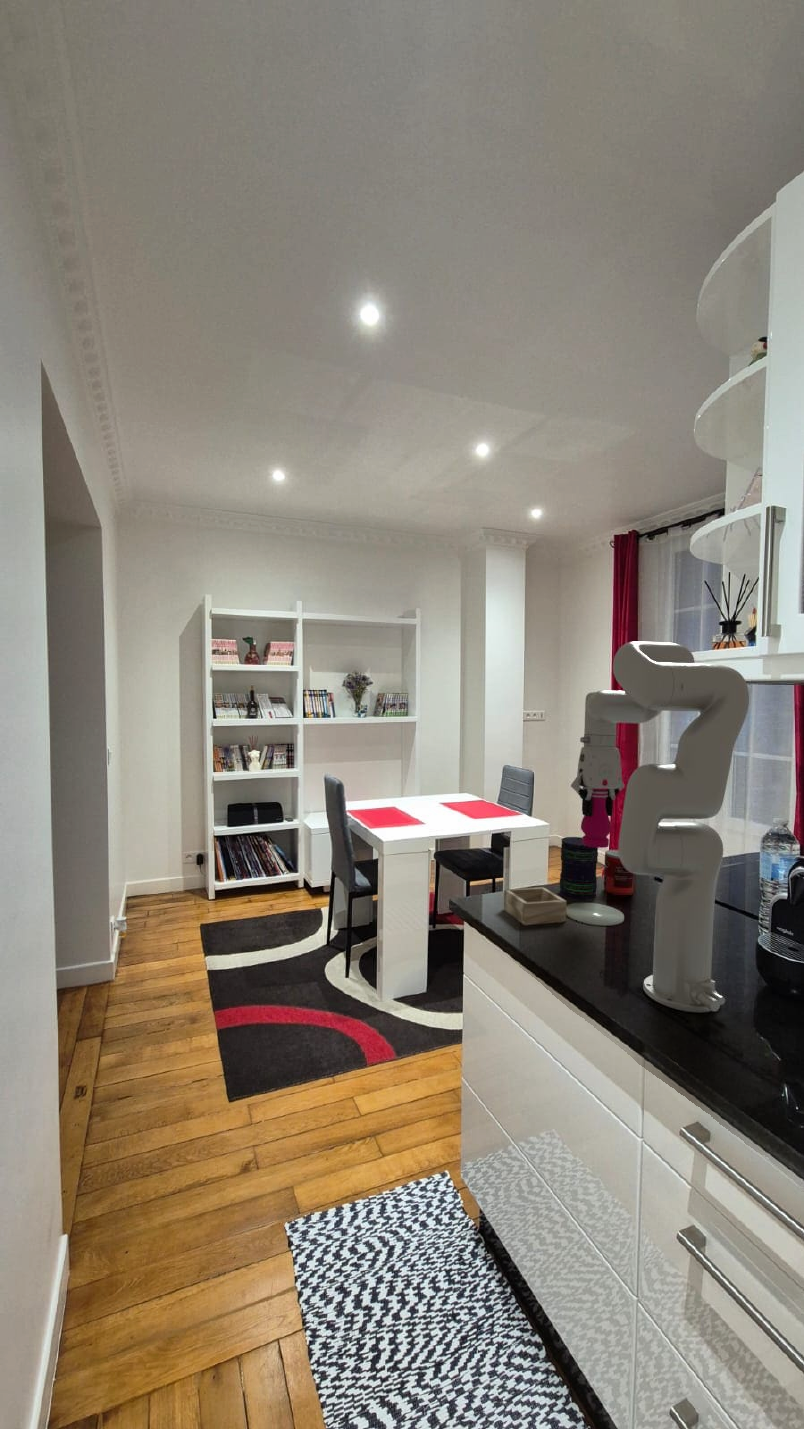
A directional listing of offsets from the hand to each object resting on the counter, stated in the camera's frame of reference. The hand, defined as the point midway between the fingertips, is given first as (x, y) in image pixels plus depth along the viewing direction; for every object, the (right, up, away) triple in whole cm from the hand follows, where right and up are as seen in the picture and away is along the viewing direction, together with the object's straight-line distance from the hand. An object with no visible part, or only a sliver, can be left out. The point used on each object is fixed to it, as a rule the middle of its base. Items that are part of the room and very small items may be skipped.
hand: (597, 814), depth 150 cm
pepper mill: (0, -8, 0) cm, 8 cm away
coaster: (-1, -25, +1) cm, 25 cm away
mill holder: (-16, -25, -1) cm, 29 cm away
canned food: (+12, -25, +20) cm, 35 cm away
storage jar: (0, -25, +17) cm, 30 cm away
